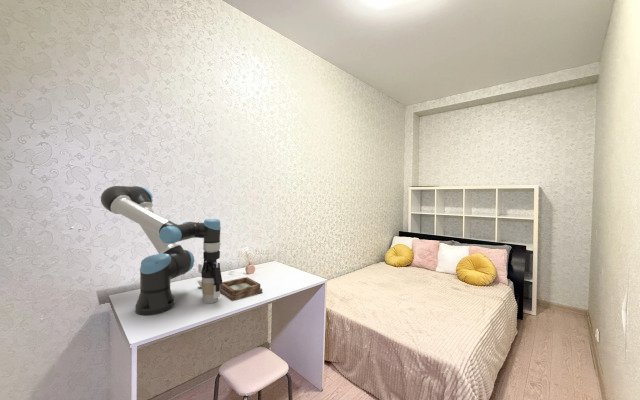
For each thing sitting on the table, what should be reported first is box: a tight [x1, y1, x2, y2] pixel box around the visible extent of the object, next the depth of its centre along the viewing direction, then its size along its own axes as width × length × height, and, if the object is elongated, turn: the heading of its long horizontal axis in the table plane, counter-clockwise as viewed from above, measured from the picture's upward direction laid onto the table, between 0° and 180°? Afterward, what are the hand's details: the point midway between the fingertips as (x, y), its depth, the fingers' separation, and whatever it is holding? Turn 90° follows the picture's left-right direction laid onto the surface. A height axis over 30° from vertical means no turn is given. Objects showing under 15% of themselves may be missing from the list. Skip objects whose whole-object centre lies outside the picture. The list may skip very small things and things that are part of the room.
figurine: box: [196, 262, 203, 289], centre depth 146 cm, size 7×9×15 cm
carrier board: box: [220, 276, 263, 302], centre depth 141 cm, size 17×17×4 cm
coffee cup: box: [200, 269, 219, 304], centre depth 129 cm, size 9×9×15 cm
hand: (211, 293), depth 129 cm, fingers open, 13 cm apart
